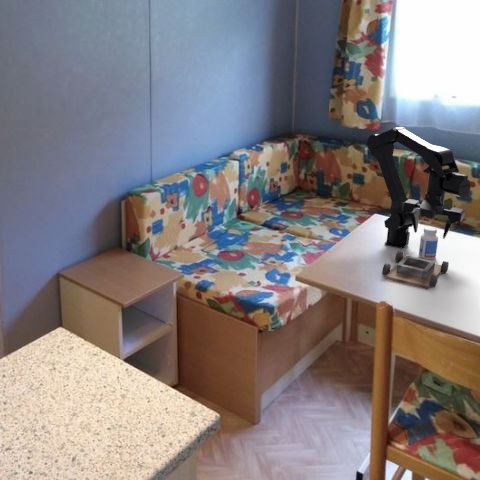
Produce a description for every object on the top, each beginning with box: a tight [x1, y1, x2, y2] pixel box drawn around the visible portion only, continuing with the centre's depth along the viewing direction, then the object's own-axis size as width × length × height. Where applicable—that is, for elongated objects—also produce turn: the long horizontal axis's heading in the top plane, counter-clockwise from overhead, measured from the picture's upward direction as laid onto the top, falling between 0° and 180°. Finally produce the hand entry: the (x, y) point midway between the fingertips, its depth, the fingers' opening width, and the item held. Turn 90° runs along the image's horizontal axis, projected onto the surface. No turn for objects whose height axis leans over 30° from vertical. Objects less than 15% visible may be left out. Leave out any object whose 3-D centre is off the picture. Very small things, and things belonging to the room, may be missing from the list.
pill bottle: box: [418, 226, 439, 260], centre depth 219 cm, size 6×5×10 cm
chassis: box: [381, 250, 450, 290], centre depth 207 cm, size 16×18×4 cm
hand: (429, 235), depth 218 cm, fingers open, 9 cm apart
